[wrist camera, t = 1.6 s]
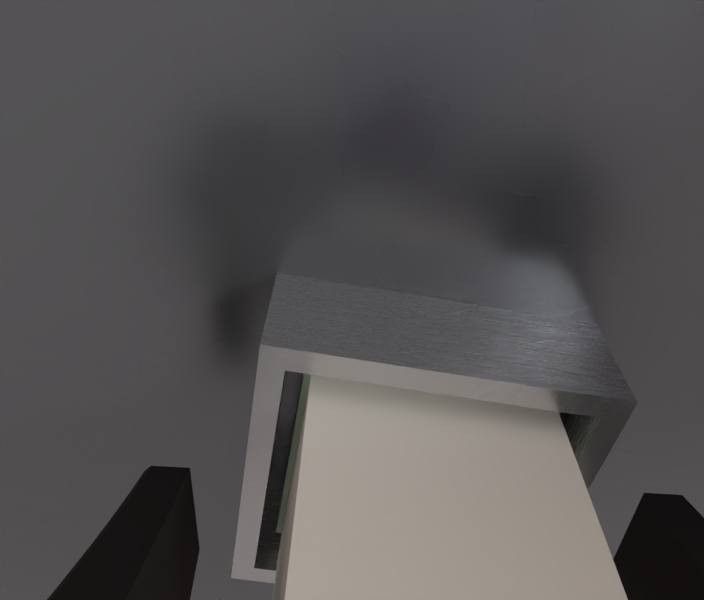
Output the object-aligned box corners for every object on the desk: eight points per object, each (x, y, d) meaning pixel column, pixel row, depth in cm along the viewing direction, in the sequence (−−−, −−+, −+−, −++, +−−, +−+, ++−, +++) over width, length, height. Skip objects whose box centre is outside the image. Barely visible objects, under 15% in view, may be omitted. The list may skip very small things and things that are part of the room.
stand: (1158, 2, 9) (1596, 61, 6) (631, 656, 19) (686, 814, 15) (-170, -294, 8) (-567, -433, 4) (8, 582, 17) (-74, 739, 14)
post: (544, 349, 11) (667, 667, 7) (477, 502, 14) (535, 817, 9) (312, 313, 11) (273, 618, 6) (283, 475, 13) (239, 789, 9)
